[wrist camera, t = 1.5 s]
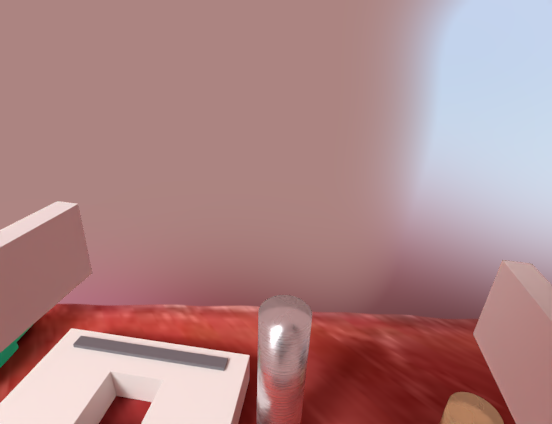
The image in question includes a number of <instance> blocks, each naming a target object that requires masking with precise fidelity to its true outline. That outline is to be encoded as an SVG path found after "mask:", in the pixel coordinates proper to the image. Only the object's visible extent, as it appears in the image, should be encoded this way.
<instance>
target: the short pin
mask: <svg viewBox="0 0 552 424" xmlns="http://www.w3.org/2000/svg"><path fill="white" fill-rule="evenodd" d="M439 424H504V422H503V420H502V418H501V416H500V414H499V413H498V411H497V410H496V409H495V408H494V407H493V406H492V405H491V404H490V403H489V402H487V401H486V400H484V399H483V398H481V397H479V396H477V395H475V394H472V393H468V392H457V393H454V394H453V395H451V396H450V398H449V400H448V402H447V405H446V408H445V410H444V413H443V415H442V418H441V421H440V423H439Z"/></svg>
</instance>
